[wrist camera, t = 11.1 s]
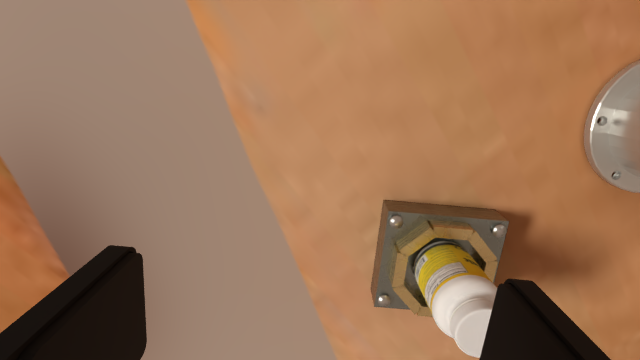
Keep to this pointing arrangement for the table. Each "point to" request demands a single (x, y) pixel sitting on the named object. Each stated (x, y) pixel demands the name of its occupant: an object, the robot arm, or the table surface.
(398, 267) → the octagonal bottle holder
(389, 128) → the table surface
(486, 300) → the supplement bottle
